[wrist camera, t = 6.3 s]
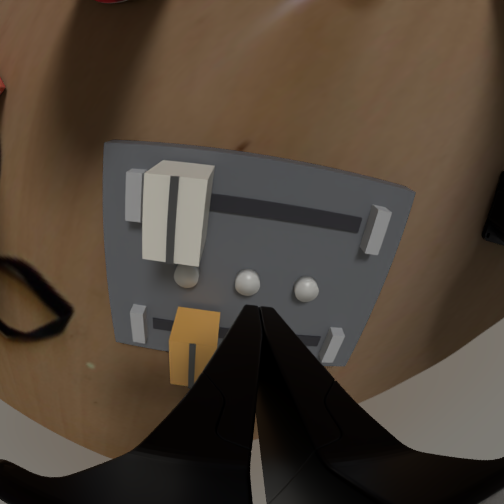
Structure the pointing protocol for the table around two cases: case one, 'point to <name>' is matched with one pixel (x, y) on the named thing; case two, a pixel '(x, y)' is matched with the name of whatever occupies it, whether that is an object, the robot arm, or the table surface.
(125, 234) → the console
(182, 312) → the orange fader
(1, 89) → the cracker box
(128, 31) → the table surface
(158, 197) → the ivory fader
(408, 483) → the robot arm
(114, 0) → the soda can
